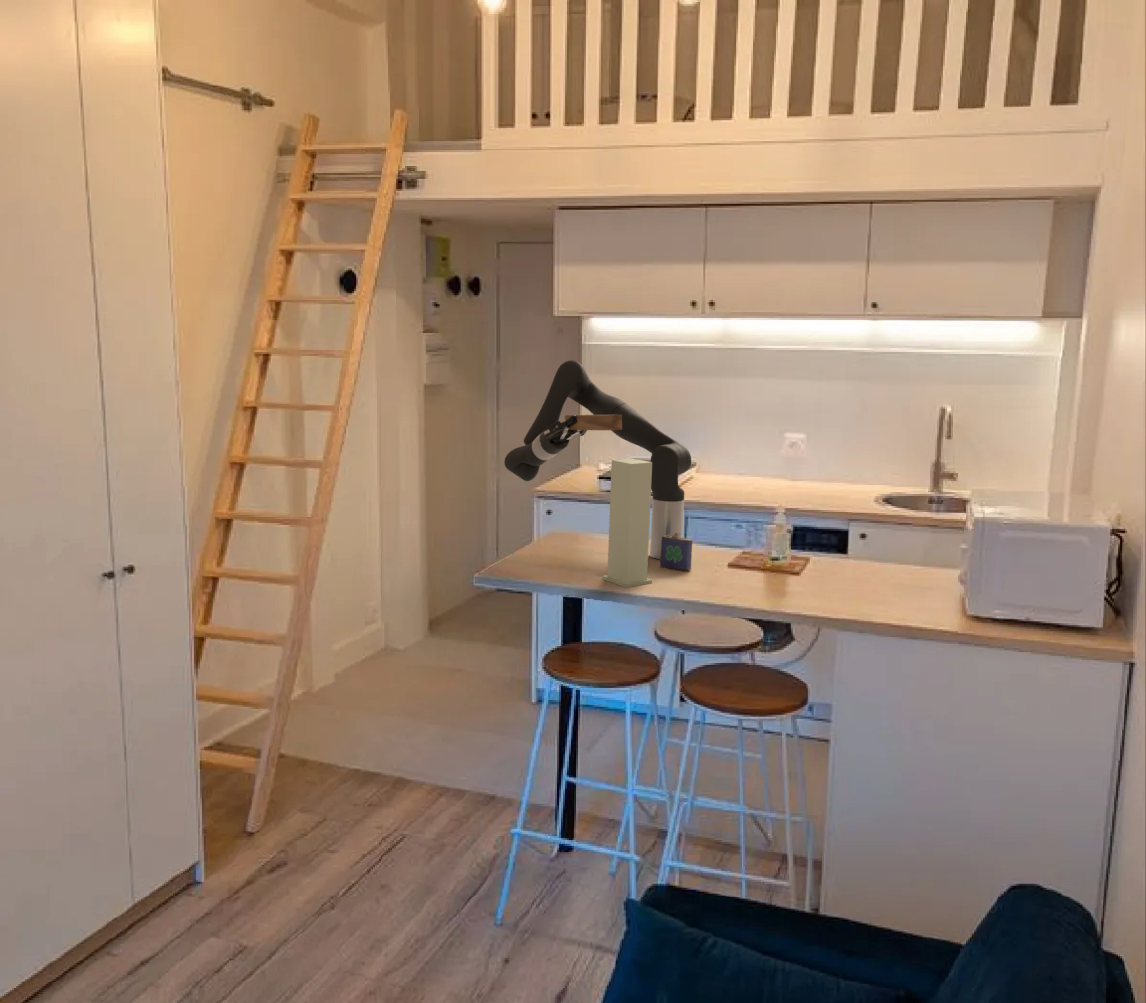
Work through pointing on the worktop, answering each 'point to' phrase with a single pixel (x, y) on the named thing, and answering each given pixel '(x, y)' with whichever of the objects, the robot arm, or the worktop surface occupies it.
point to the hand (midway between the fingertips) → (582, 418)
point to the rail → (597, 422)
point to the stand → (629, 522)
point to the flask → (676, 553)
